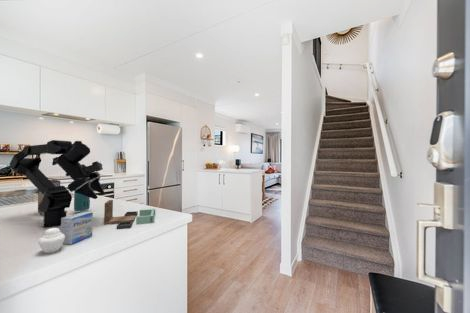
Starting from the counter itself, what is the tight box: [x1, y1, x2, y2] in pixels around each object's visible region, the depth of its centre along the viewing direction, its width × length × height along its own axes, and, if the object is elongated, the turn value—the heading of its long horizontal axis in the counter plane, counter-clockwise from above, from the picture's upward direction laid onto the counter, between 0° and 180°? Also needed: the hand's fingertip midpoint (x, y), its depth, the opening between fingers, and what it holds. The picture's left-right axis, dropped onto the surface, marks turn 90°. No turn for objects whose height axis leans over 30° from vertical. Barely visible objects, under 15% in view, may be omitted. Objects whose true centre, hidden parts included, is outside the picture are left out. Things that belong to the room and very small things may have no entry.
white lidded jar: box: [37, 227, 65, 254], centre depth 62 cm, size 6×6×7 cm
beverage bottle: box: [73, 189, 91, 212], centre depth 102 cm, size 6×7×20 cm
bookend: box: [103, 199, 137, 226], centre depth 91 cm, size 11×7×9 cm, turn 108°
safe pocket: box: [135, 208, 156, 225], centre depth 94 cm, size 7×12×3 cm, turn 19°
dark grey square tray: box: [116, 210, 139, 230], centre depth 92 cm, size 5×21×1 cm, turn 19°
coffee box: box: [37, 178, 61, 217], centre depth 100 cm, size 9×6×16 cm
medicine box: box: [60, 211, 94, 246], centre depth 70 cm, size 8×4×9 cm, turn 168°
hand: (100, 195), depth 87 cm, fingers open, 9 cm apart
